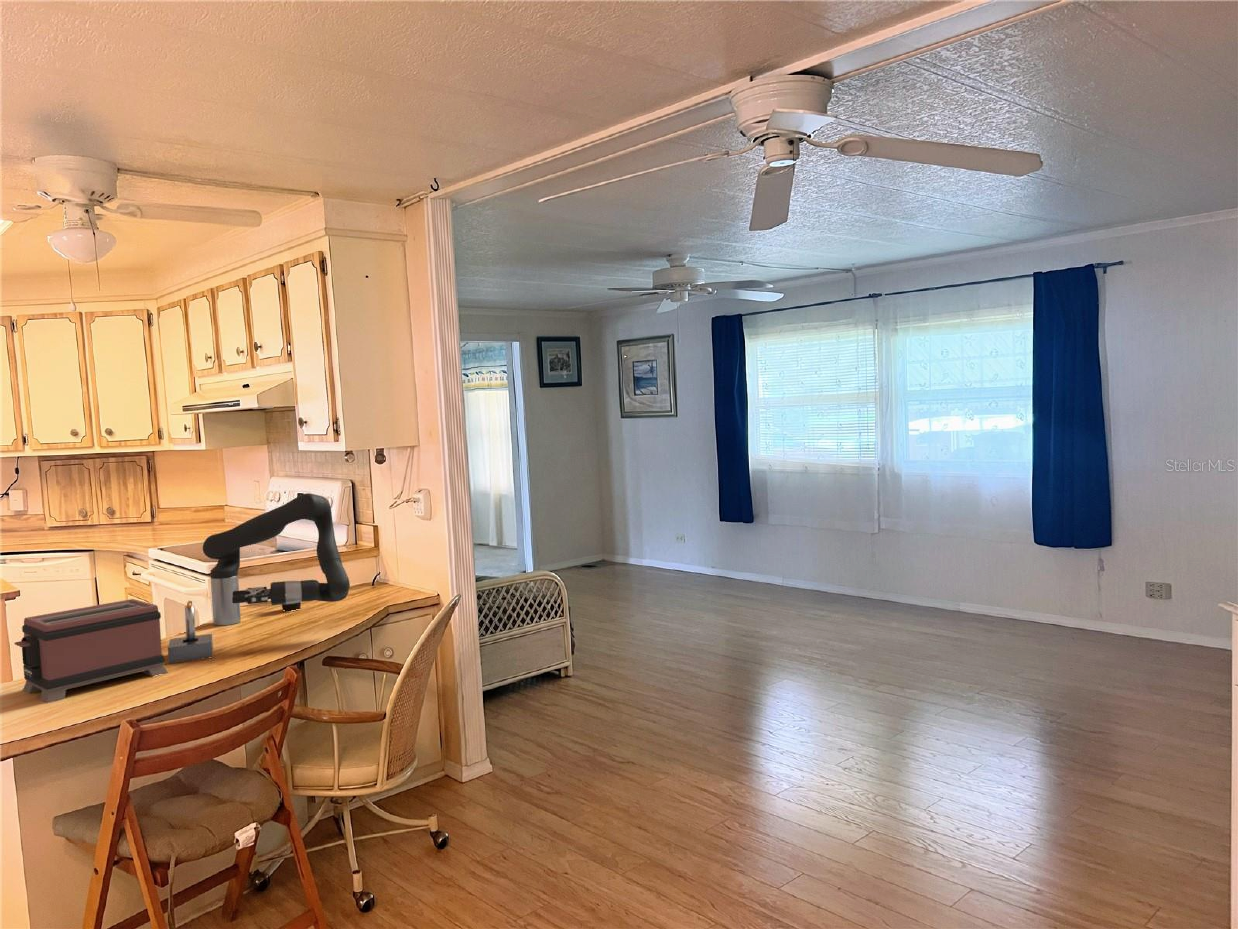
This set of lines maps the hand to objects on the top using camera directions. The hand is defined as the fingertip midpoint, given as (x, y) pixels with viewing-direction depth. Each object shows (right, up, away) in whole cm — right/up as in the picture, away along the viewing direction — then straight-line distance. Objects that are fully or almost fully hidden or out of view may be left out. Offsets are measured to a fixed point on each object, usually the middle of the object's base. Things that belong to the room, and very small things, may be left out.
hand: (232, 597), depth 273 cm
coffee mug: (-4, -14, +57) cm, 59 cm away
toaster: (-26, -20, -31) cm, 45 cm away
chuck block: (-10, -18, -6) cm, 21 cm away
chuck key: (-10, -17, -6) cm, 20 cm away
